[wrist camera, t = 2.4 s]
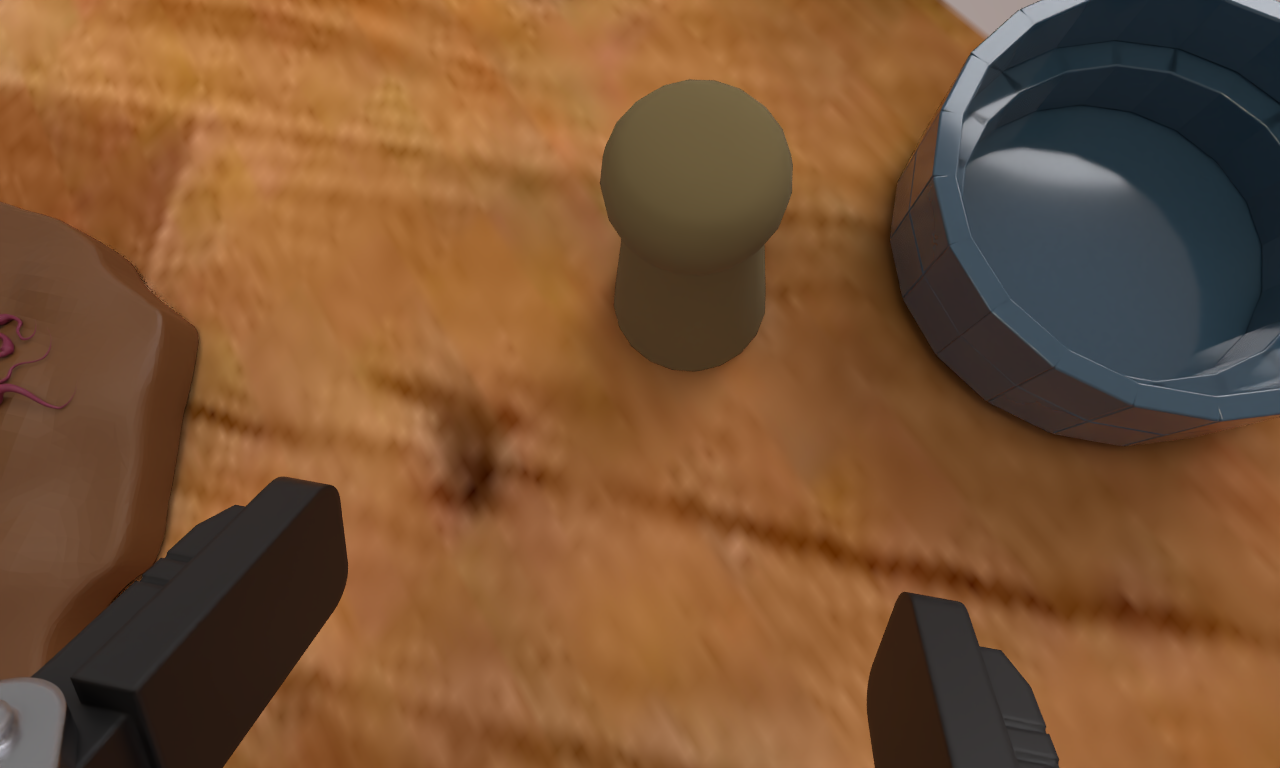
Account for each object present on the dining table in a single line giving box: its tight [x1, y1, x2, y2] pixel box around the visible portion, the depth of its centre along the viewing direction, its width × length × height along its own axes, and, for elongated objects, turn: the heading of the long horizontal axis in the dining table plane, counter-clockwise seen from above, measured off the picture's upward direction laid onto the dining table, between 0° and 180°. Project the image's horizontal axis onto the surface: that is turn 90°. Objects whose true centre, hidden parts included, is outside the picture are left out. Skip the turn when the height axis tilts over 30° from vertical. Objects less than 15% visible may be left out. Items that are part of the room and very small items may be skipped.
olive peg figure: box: [600, 80, 793, 371], centre depth 23 cm, size 6×6×11 cm
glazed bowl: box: [890, 0, 1280, 446], centre depth 26 cm, size 16×16×6 cm
